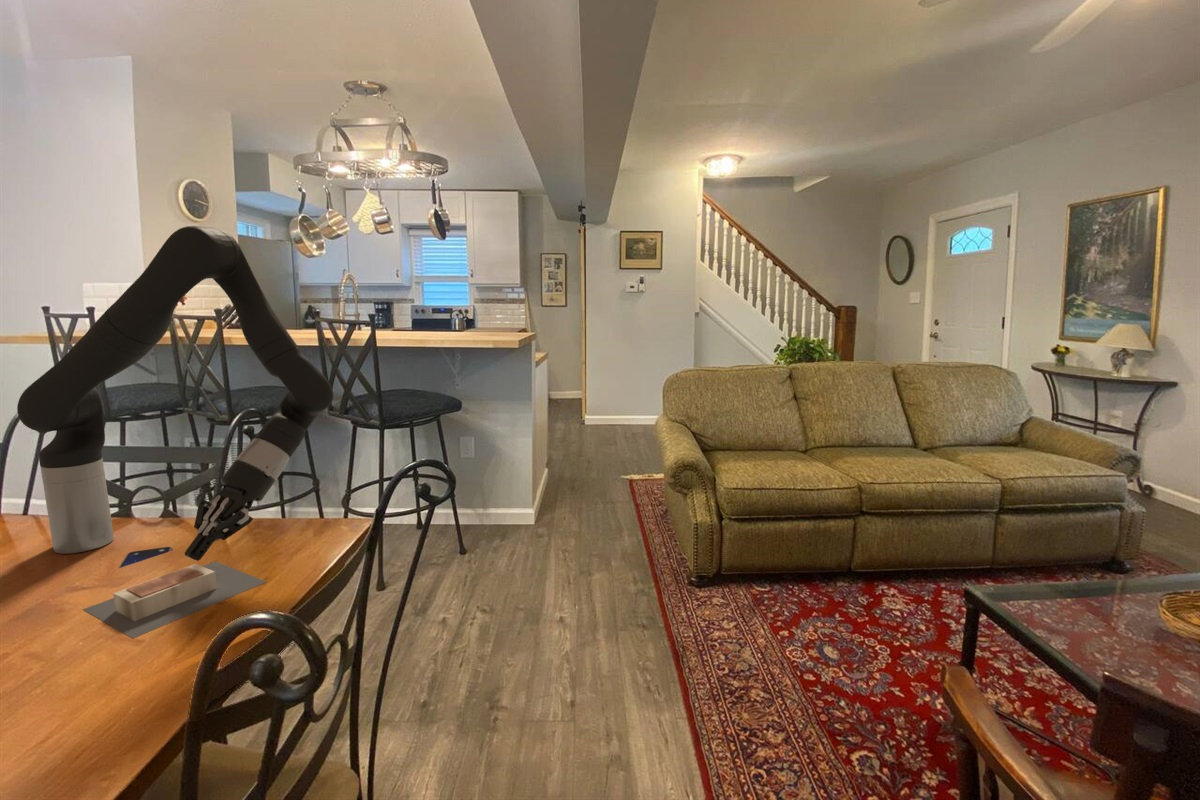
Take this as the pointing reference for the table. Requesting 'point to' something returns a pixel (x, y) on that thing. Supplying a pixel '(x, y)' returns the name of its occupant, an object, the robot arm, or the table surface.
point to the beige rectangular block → (164, 591)
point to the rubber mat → (227, 587)
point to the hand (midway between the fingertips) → (191, 557)
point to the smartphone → (143, 555)
